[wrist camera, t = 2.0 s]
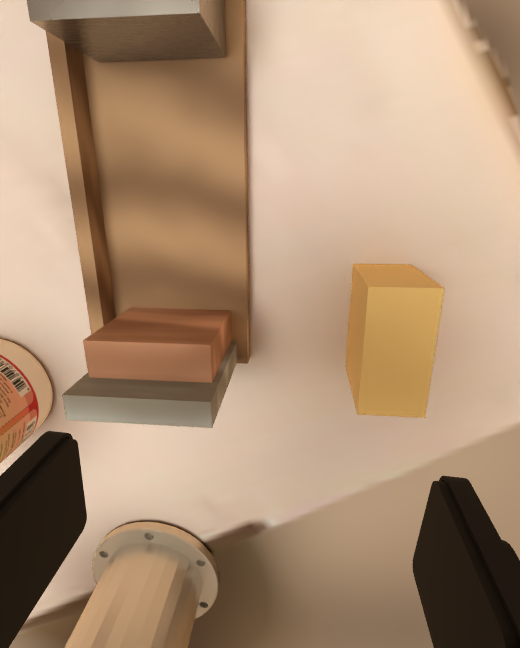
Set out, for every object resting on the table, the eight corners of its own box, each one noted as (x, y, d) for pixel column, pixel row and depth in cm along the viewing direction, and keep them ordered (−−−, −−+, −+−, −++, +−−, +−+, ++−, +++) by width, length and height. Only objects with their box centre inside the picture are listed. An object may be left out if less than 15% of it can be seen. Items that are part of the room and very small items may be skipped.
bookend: (225, 57, 24) (199, 13, 18) (97, 62, 25) (29, 20, 18) (224, -12, 23) (195, -86, 17) (89, -5, 23) (15, -73, 17)
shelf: (249, 357, 31) (226, 431, 22) (115, 352, 33) (37, 421, 23) (244, -15, 24) (205, -152, 14) (68, -6, 25) (-79, -127, 15)
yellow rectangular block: (398, 368, 31) (424, 417, 24) (345, 366, 31) (357, 414, 24) (410, 264, 28) (444, 288, 21) (353, 263, 28) (368, 286, 22)
